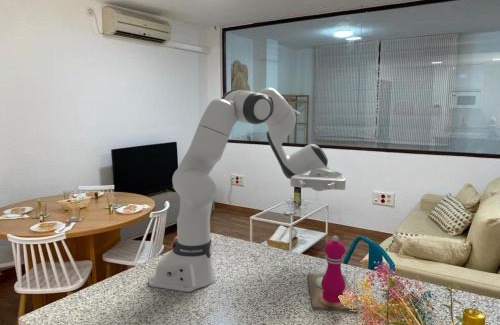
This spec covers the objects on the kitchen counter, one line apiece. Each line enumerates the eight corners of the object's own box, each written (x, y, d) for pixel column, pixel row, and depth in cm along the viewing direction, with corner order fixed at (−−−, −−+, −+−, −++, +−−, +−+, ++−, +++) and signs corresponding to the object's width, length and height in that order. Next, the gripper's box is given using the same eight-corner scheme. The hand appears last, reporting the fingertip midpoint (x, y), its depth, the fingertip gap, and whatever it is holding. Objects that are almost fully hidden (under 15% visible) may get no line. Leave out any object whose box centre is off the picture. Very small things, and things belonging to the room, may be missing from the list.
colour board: (312, 309, 111) (312, 305, 110) (307, 276, 132) (307, 272, 132) (357, 312, 110) (357, 308, 109) (344, 278, 131) (344, 274, 131)
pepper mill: (345, 305, 111) (348, 241, 108) (320, 302, 112) (323, 239, 109) (344, 293, 118) (347, 233, 115) (321, 291, 119) (323, 231, 116)
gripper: (292, 169, 148) (287, 176, 134) (346, 172, 142) (345, 179, 129) (292, 185, 148) (287, 193, 135) (345, 188, 143) (344, 197, 130)
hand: (316, 186), depth 132 cm, fingers open, 8 cm apart
